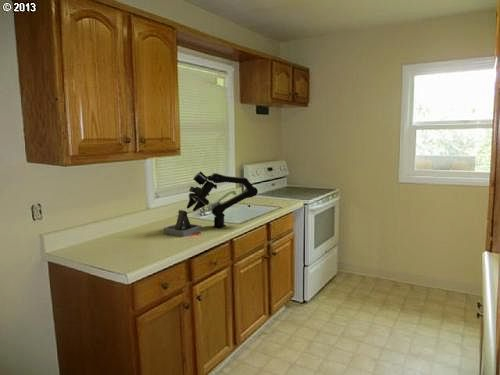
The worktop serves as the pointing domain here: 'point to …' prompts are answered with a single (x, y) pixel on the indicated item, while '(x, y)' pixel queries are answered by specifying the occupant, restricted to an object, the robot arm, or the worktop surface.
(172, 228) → the tray
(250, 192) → the robot arm
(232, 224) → the worktop surface
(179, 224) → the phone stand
